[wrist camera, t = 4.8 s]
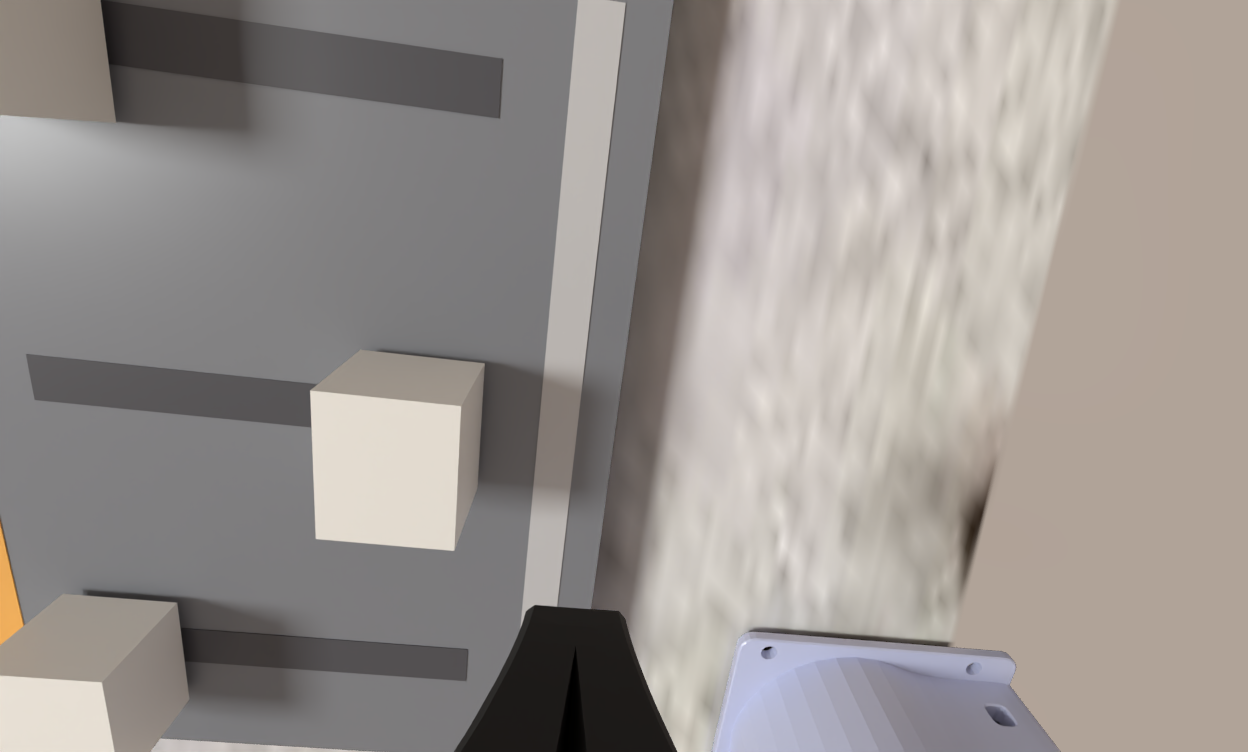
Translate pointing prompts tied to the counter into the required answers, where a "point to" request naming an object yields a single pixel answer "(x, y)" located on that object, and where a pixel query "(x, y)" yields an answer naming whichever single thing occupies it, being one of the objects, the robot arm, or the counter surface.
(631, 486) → the counter surface
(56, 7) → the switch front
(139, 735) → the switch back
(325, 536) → the switch
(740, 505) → the counter surface
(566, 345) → the panel
